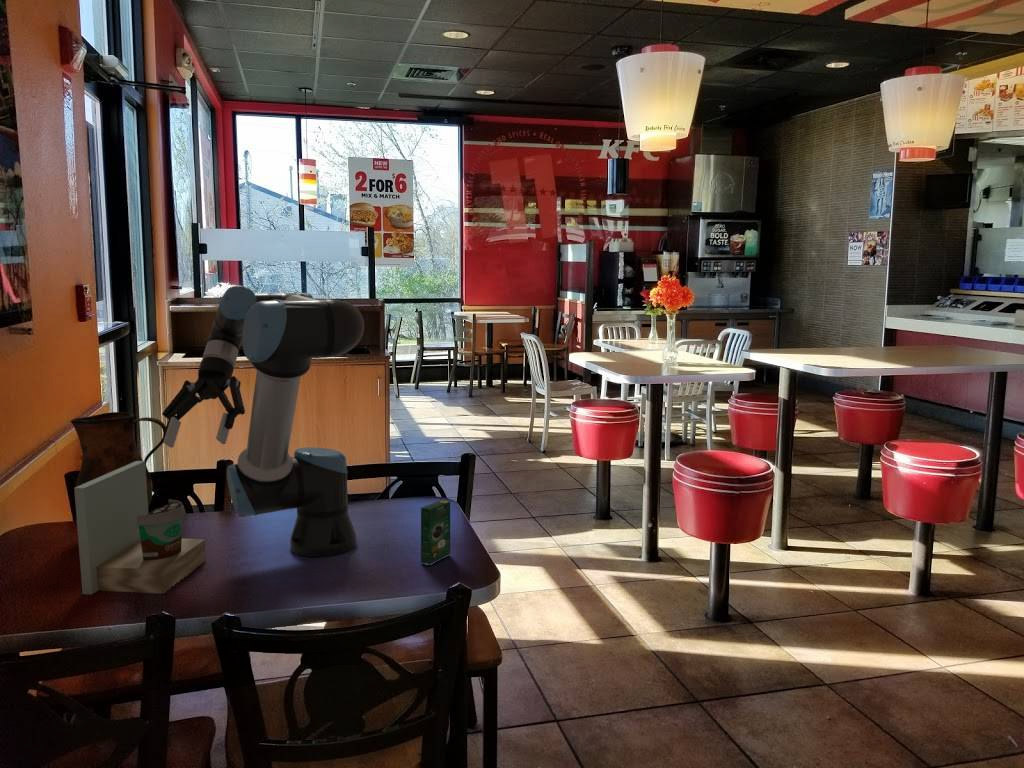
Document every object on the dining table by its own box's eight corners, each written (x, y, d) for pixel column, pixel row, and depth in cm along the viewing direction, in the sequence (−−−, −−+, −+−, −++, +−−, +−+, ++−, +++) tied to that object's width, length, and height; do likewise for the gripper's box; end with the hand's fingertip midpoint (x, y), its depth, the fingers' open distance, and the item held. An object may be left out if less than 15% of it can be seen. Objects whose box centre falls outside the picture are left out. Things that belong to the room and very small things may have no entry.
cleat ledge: (206, 560, 178) (204, 539, 178) (163, 593, 161) (162, 569, 160) (146, 558, 180) (145, 537, 179) (98, 590, 162) (96, 566, 161)
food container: (166, 564, 163) (163, 517, 161) (138, 562, 163) (135, 515, 162) (198, 543, 175) (196, 499, 173) (172, 542, 176) (170, 498, 174)
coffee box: (441, 553, 184) (441, 498, 182) (451, 555, 182) (451, 500, 180) (419, 564, 177) (419, 507, 175) (430, 567, 175) (429, 509, 173)
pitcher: (89, 527, 200) (81, 410, 196) (180, 522, 205) (173, 407, 200) (67, 550, 184) (57, 423, 180) (166, 544, 189) (158, 419, 184)
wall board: (151, 555, 182) (145, 461, 178) (92, 594, 160) (83, 488, 157) (142, 554, 182) (136, 460, 178) (82, 594, 160) (74, 487, 157)
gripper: (272, 367, 190) (251, 447, 179) (182, 376, 196) (157, 453, 185) (256, 350, 184) (233, 431, 173) (163, 359, 190) (136, 438, 179)
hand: (194, 443), depth 179 cm, fingers open, 13 cm apart
